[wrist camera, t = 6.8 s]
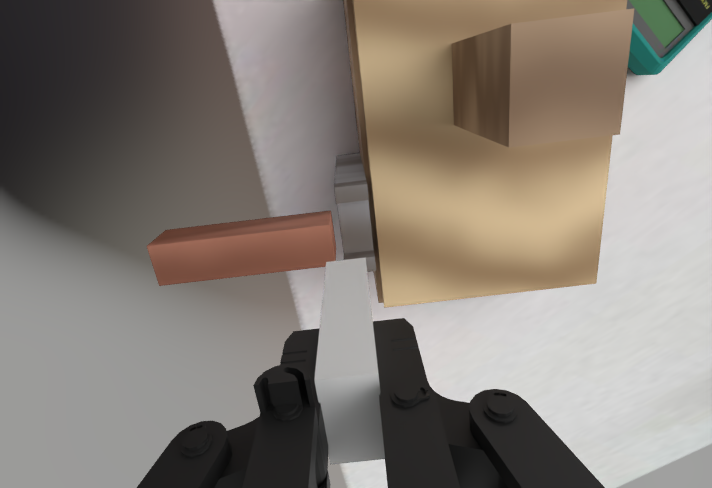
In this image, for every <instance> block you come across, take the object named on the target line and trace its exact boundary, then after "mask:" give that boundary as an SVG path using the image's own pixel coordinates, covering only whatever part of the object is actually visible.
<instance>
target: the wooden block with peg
mask: <svg viewBox="0 0 712 488" xmlns="http://www.w3.org/2000/svg"><path fill="white" fill-rule="evenodd" d="M352 1H353V11H354V21H355V30H356V40H357V50H358V60H359V70H360V80H361V89H362V99H363V109H364V119H365V129H366V138H367V148H368V158H369V168H370V178H371V187H372V197H373V207H374V217H375V227H376V236H377V246H378V256H379V266H380V276H381V285H382V295H383V302H384V308H386V307H394V306H403V305H412V304H421V303H429V302H438V301H447V300H456V299H464V298H473V297H482V296H490V295H499V294H508V293H517V292H525V291H534V290H543V289H552V288H560V287H569V286H578V285H587V284H595V283H596V281H597V272H598V263H599V254H600V244H601V235H602V226H603V217H604V208H605V199H606V190H607V180H608V171H609V162H610V153H611V144H612V135H618V134H620V129H621V120H622V111H623V103H624V94H625V85H626V77H627V68H628V60H629V51H630V42H631V34H632V25H633V16H634V9H626V7H627V0H352Z"/></svg>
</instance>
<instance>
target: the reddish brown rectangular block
mask: <svg viewBox="0 0 712 488" xmlns="http://www.w3.org/2000/svg"><path fill="white" fill-rule="evenodd" d="M147 249H148V252H149V255H150V258H151V261H152V264H153V267H154V271H155V274H156V277H157V280H158V283H159V286H161V285H170V284H179V283H188V282H196V281H205V280H213V279H222V278H230V277H239V276H247V275H256V274H265V273H274V272H283V271H291V270H300V269H308V268H317V267H326V262H331V261H336V243H335V236H334V229H333V222H332V215H331V211H323V212H314V213H306V214H297V215H289V216H280V217H272V218H264V219H255V220H246V221H239V222H230V223H221V224H212V225H204V226H196V227H188V228H179V229H170V230H165V231H164V232H163V233H162V234H161V235H159V236H158V237H157V238H156V239H155V240H153V241H152V242H151V243H150V244H149V245H147Z"/></svg>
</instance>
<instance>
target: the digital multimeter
mask: <svg viewBox="0 0 712 488" xmlns="http://www.w3.org/2000/svg"><path fill="white" fill-rule="evenodd" d="M626 9H634V16H633V25H632V34H631V42H630V51H629V60H628V68H629V69H630V70H631V71H632V72H633V73H634V74H636V75H655V74H658V73H660V72H661V71H662V70H663V69H664V68H665V67H666V66H667V65H668V64H669V63H670V62H671V61H672V60H673V59H674V57H675V56H676V55H677V54H678V53H679V52H680V51H681V50H682V49H683V48H684V47H685V46H686V45H687V44H688V43H689V42H690V41H691V40H692V39H693V38H694V37H695V36H696V35H697V34H698V33H699V32H700V31H701V29H702V28H703V27H704V26H705V25H706V24H707V23H708V22H709V21H710V20H711V19H712V0H627V7H626Z"/></svg>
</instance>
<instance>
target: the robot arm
mask: <svg viewBox="0 0 712 488" xmlns="http://www.w3.org/2000/svg"><path fill="white" fill-rule="evenodd" d="M254 389H255V393H256V397H257V401H258V405H259V409H260V417H258V418H256V419H255V420H253V421H251V422H249V423H247V424H245V425H242V426H240V427H237V428H234V429H232V430H229V431H226V428H225V427H224V426H223V425H222V424H221V423H218V422H215V421H203V422H199V423H196V424H193V425H190V426H189V427H187V428H186V429H184V430H182V431H181V432H180V433H179V434H178V435H177V436H176V437H175V438H174V439H173V440H172V441H171V442H170V444H169V445H168V446H167V448H166V449H165V450H164V452H163V453H162V454H161V456H160V457H159V459H158V460H157V461H156V462H155V464H154V465H153V466H152V468H151V469H150V471H149V472H148V473H147V475H146V476H145V477H144V479H143V480H142V481H141V483H140V484H139V485H138V487H137V488H330V480H329V475H328V470H327V468H328V467H327V466H328V455H329V460H330V464H339V463H349V462H358V461H368V460H378V459H385V463H386V473H387V483H388V488H605V487H604V486H603V485H602V484H601V483H600V482H599V481H598V480H597V479H596V478H595V477H594V475H593V474H592V473H591V472H590V471H589V470H588V469H587V468H586V467H585V466H584V464H583V463H582V462H581V461H580V460H579V459H578V458H577V457H576V456H575V455H574V454H573V452H572V451H571V450H570V449H569V448H568V447H567V446H566V445H565V444H564V443H563V441H562V440H561V439H560V438H559V437H558V436H557V435H556V434H555V433H554V432H553V431H552V429H551V428H550V427H549V426H548V425H547V424H546V423H545V422H544V421H543V420H542V418H541V417H540V416H539V415H538V414H537V413H536V412H535V411H534V410H533V409H532V408H531V406H530V405H529V404H528V403H527V402H526V401H525V400H523V399H522V398H521V397H519V396H518V395H516V394H514V393H511V392H509V391H506V390H499V389H491V390H484V391H482V392H480V393H478V394H476V395H475V396H474V397H473V399H472V400H471V401H470V403H466V402H459V401H454V400H450V399H447V398H445V397H442V396H440V395H439V394H437V393H436V392H435V391H434V390H433V389H432V388H431V387H430V385H429V383H428V381H427V377H426V374H425V370H424V366H423V362H422V359H421V355H420V351H419V348H418V344H417V340H416V336H415V332H414V329H413V326H412V325H411V324H410V323H409V322H407V321H406V320H405V319H404V318H402V319H392V320H383V321H374V322H373V318H372V309H371V300H370V292H369V283H368V274H367V265H366V258H357V259H348V260H339V261H331V262H326V269H325V279H324V289H323V299H322V309H321V319H320V329H311V330H302V331H294V332H293V333H292V334H291V335H290V336H289V338H288V339H287V340H286V341H285V344H284V349H283V355H282V358H281V365H279V366H275V367H273V368H271V369H269V370H267V371H265V372H264V373H263V374H262V375H260V376H259V377H258V378H257V380H256V382H255V384H254Z"/></svg>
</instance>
